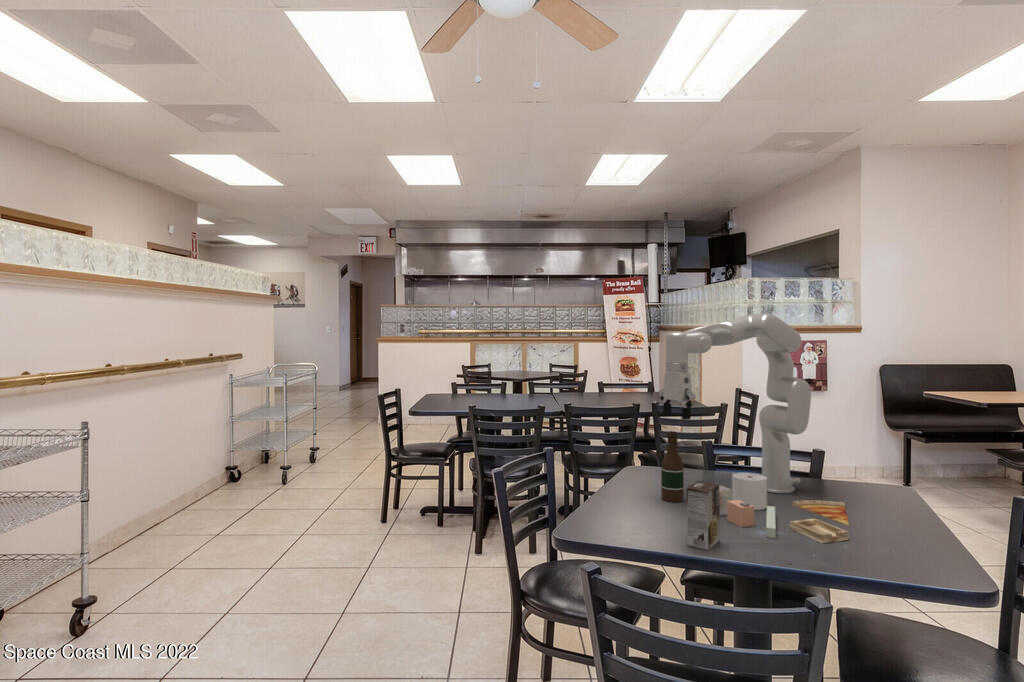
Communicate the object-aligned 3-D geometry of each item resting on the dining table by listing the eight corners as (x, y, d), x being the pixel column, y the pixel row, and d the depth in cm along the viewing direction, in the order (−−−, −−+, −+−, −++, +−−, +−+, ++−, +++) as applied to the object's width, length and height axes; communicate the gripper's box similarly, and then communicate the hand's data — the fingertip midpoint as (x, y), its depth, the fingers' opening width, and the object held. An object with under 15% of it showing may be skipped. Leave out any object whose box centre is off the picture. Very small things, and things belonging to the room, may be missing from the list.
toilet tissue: (762, 512, 181) (762, 482, 181) (725, 505, 188) (725, 476, 188) (770, 504, 190) (770, 475, 190) (733, 498, 197) (733, 470, 197)
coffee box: (698, 535, 161) (698, 480, 161) (720, 540, 157) (720, 484, 157) (685, 545, 154) (685, 487, 154) (708, 550, 150) (708, 491, 150)
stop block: (739, 518, 176) (739, 497, 176) (754, 525, 169) (754, 504, 169) (726, 520, 175) (726, 499, 174) (741, 527, 168) (741, 505, 168)
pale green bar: (766, 514, 179) (766, 505, 179) (775, 515, 178) (775, 506, 178) (766, 537, 159) (766, 527, 159) (775, 538, 158) (775, 528, 158)
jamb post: (721, 509, 185) (721, 485, 184) (731, 514, 180) (731, 489, 180) (708, 510, 183) (708, 486, 183) (718, 515, 178) (718, 490, 178)
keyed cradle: (815, 525, 168) (815, 518, 168) (848, 539, 157) (848, 531, 157) (789, 529, 166) (789, 521, 166) (822, 543, 154) (822, 535, 154)
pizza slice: (791, 520, 175) (791, 513, 175) (792, 501, 195) (792, 495, 195) (849, 528, 168) (849, 521, 168) (844, 507, 187) (844, 501, 187)
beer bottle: (686, 502, 192) (686, 433, 192) (664, 502, 192) (664, 434, 192) (680, 496, 200) (680, 430, 199) (658, 496, 200) (658, 430, 200)
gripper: (703, 369, 186) (702, 420, 186) (668, 366, 202) (668, 413, 202) (685, 369, 183) (685, 421, 183) (651, 367, 199) (651, 414, 199)
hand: (676, 417), depth 192 cm, fingers open, 9 cm apart
